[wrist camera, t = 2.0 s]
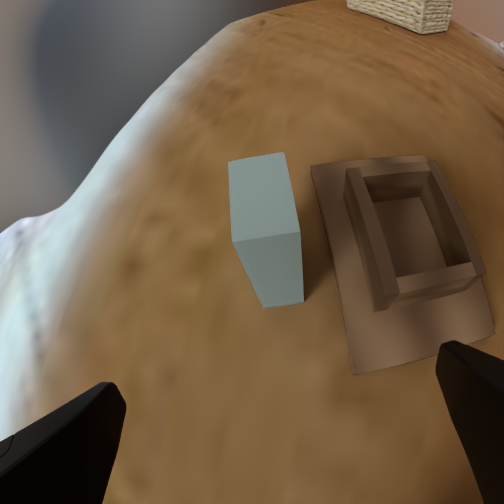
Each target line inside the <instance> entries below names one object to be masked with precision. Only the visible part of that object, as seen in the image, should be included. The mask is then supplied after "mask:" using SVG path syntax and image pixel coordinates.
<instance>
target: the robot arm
mask: <svg viewBox="0 0 504 504" xmlns="http://www.w3.org/2000/svg"><path fill="white" fill-rule="evenodd" d="M436 376H437V379H438V381H439V384H440V387H441V390H442V393H443V396H444V399H445V402H446V405H447V408H448V411H449V414H450V417H451V419H452V422H453V424H454V427H455V429H456V431H457V433H458V436H459V438H460V440H461V443H462V445H463V448H464V450H465V453H466V455H467V458H468V460H469V463H470V465H471V468H472V470H473V473H474V476H475V479H476V481H477V484H478V487H479V490H480V493H481V496H482V499H483V502H484V504H504V360H501V359H499V358H497V357H494V356H492V355H489V354H487V353H485V352H482V351H480V350H478V349H475V348H473V347H470V346H468V345H466V344H463V343H461V342H458V341H456V340H451V341H448V342H445V343H442V344H441V345H440V348H439V352H438V358H437V363H436ZM125 414H126V403H125V400H124V399H123V397H122V395H121V393H120V391H119V390H118V388H117V386H116V385H115V384H114V383H112V382H100V383H99V384H97V385H95V386H94V387H92V388H90V389H89V390H87V391H86V392H84V393H82V394H81V395H79V396H77V397H76V398H74V399H72V400H71V401H69V402H68V403H66V404H64V405H63V406H61V407H59V408H58V409H56V410H54V411H53V412H51V413H49V414H47V415H46V416H44V417H42V418H41V419H39V420H37V421H36V422H34V423H32V424H30V425H29V426H27V427H25V428H24V429H22V430H20V431H18V432H17V433H15V435H14V434H13V435H11V436H10V437H8V438H6V439H4V440H2V441H1V442H0V504H102V503H103V499H104V495H105V492H106V488H107V485H108V481H109V478H110V475H111V471H112V468H113V465H114V461H115V458H116V455H117V451H118V447H119V442H120V437H121V432H122V428H123V423H124V418H125Z"/></svg>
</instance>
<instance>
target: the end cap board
mask: <svg viewBox="0 0 504 504" xmlns="http://www.w3.org/2000/svg"><path fill="white" fill-rule="evenodd" d="M310 167H311V176H312V180H313V183H314V187H315V191H316V195H317V198H318V202H319V206H320V210H321V214H322V218H323V222H324V226H325V231H326V235H327V239H328V243H329V248H330V252H331V257H332V261H333V266H334V271H335V276H336V280H337V285H338V290H339V296H340V301H341V306H342V311H343V317H344V323H345V328H346V334H347V340H348V347H349V353H350V359H351V366H352V373H353V376H354V375H359V374H363V373H368V372H373V371H377V370H382V369H386V368H390V367H394V366H398V365H402V364H406V363H410V362H413V361H417V360H421V359H424V358H428V357H431V356H434V355H438V352H439V348H440V345H441V344H442V343H445V342H448V341H451V340H456V341H458V342H461V343H463V344H466V345H468V344H471V343H473V342H476V341H479V340H482V339H484V338H487V337H489V336H492V335H494V334H496V332H495V328H494V324H493V320H492V316H491V312H490V308H489V304H488V301H487V297H486V294H485V291H484V287H483V284H482V281H481V277H482V276H483V275H484V274H485V273H486V270H485V267H484V265H483V262H482V259H481V256H480V254H479V251H478V248H477V246H476V243H475V241H474V238H473V236H472V234H471V231H470V229H469V226H468V224H467V222H466V220H465V217H464V215H463V213H462V211H461V209H460V207H459V204H458V202H457V200H456V198H455V196H454V194H453V192H452V190H451V188H450V186H449V184H448V183H447V181H446V179H445V177H444V175H443V173H442V171H441V170H440V168H439V166H438V164H437V162H436V161H429V160H428V159H427V157H426V155H411V156H397V157H385V158H374V159H364V160H354V161H345V162H336V163H328V164H320V165H313V166H310Z"/></svg>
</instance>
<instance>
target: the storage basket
mask: <svg viewBox="0 0 504 504" xmlns="http://www.w3.org/2000/svg"><path fill="white" fill-rule="evenodd" d="M346 1H347V7H348V8H350V9H353V10H355V11H358V12H362V13H366V14H369V15H371V16H374V17H378V18H380V19H384V20H386V21H388V22H391V23H393V24H397V25H399V26H402V27H404V28H407V29H409V30H412V31H414V32H417V33H419V34H429V33H434V32H435V33H437V32H442V31H447V29H448V25H449V22H450V18H451V11H452V6H453V2H454V0H346Z"/></svg>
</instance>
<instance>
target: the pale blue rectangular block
mask: <svg viewBox="0 0 504 504" xmlns="http://www.w3.org/2000/svg"><path fill="white" fill-rule="evenodd" d="M228 169H229V192H230V213H231V233H232V243H233V245H234V247H235V249H236V252H237V254H238V256H239V258H240V260H241V262H242V264H243V266H244V269H245V271H246V273H247V275H248V277H249V279H250V281H251V283H252V285H253V287H254V290H255V292H256V294H257V296H258V298H259V300H260V302H261V304H262V306H263V308H269V307H277V306H284V305H291V304H297V303H304V291H303V269H302V251H301V235H300V227H299V222H298V217H297V212H296V207H295V202H294V197H293V192H292V187H291V183H290V178H289V173H288V169H287V164H286V160H285V155H284V152H281V153H274V154H268V155H262V156H256V157H251V158H245V159H240V160H234V161H229V162H228Z"/></svg>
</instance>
